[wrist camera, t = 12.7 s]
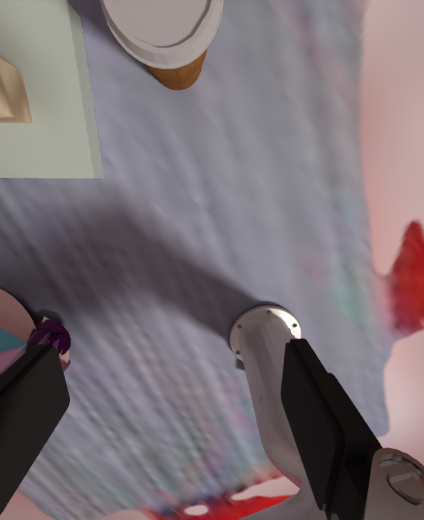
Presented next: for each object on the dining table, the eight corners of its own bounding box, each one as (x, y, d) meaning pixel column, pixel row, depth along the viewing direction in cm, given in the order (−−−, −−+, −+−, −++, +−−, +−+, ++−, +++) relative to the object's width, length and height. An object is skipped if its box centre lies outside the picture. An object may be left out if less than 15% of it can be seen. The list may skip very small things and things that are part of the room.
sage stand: (103, 178, 32) (94, 178, 29) (-25, 177, 31) (-48, 177, 28) (80, 18, 26) (66, -2, 23) (-78, 12, 25) (-113, -8, 23)
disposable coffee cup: (145, -9, 26) (100, -154, 14) (226, 27, 27) (244, -80, 16) (128, 89, 29) (80, 32, 17) (202, 117, 30) (203, 81, 19)
